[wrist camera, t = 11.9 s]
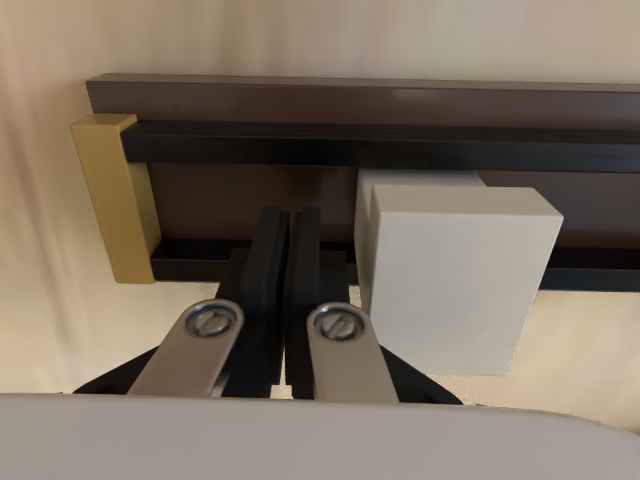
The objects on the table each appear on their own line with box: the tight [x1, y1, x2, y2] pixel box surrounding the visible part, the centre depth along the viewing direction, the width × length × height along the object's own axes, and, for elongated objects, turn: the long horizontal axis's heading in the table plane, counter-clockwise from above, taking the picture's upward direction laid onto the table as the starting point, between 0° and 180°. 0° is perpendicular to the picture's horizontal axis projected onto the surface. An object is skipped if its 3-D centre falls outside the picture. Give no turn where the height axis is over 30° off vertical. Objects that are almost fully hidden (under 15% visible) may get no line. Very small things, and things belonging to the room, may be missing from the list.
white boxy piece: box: [354, 168, 563, 376], centre depth 12 cm, size 5×4×6 cm
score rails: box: [70, 113, 640, 291], centre depth 14 cm, size 6×30×2 cm, turn 89°
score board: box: [86, 73, 640, 293], centre depth 16 cm, size 8×30×2 cm, turn 89°
